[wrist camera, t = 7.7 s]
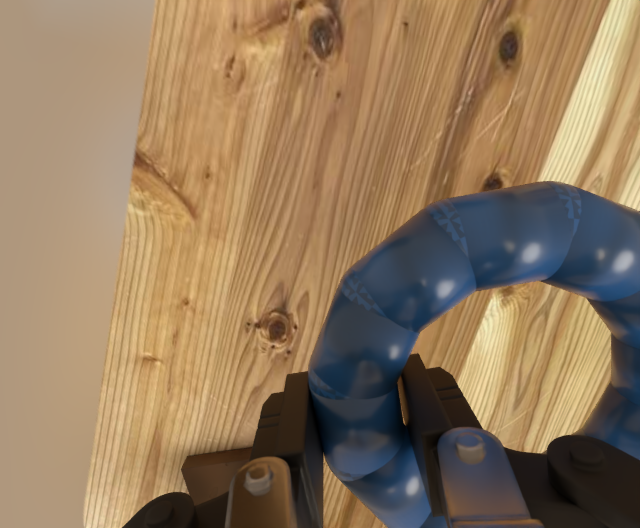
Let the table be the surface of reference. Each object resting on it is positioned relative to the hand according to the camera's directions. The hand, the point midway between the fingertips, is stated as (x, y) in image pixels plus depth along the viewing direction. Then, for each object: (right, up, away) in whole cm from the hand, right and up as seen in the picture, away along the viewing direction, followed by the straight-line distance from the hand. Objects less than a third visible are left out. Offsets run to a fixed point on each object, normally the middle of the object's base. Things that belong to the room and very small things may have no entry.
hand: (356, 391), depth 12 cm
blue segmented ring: (+4, +1, -1) cm, 4 cm away
